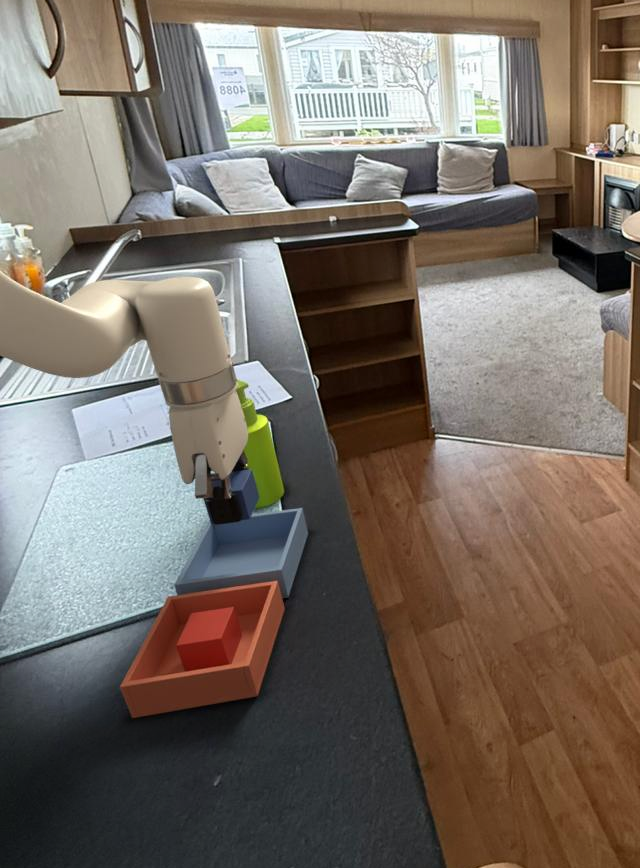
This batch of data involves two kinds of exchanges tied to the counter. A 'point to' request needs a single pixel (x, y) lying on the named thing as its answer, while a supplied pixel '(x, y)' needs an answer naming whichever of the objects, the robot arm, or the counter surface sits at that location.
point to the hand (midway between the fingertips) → (234, 507)
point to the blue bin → (246, 553)
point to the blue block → (241, 492)
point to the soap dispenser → (260, 452)
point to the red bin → (176, 689)
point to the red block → (209, 639)
